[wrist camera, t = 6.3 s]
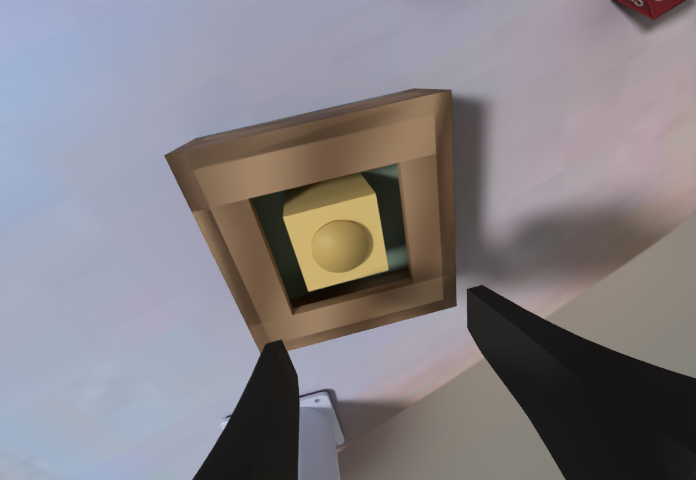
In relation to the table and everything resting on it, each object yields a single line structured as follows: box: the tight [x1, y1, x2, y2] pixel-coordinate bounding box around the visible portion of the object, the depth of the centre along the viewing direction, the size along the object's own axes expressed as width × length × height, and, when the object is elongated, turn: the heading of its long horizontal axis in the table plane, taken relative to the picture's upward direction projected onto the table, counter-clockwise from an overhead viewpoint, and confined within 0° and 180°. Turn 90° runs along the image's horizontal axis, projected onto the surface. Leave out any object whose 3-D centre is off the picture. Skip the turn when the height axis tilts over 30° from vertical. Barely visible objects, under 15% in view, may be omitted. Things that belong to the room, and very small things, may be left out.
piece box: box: [164, 89, 457, 353], centre depth 17 cm, size 12×12×4 cm
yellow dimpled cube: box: [283, 172, 389, 292], centre depth 16 cm, size 4×4×4 cm
